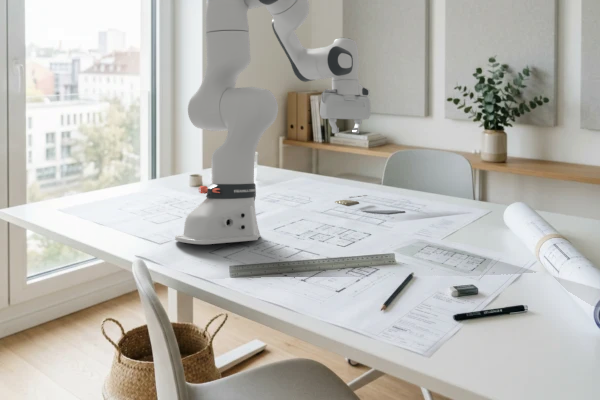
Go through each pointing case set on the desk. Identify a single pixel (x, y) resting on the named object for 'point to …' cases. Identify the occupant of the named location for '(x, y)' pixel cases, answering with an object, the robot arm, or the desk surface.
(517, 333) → the desk surface
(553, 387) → the desk surface
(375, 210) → the felt pad
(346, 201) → the cuneiform tablet
